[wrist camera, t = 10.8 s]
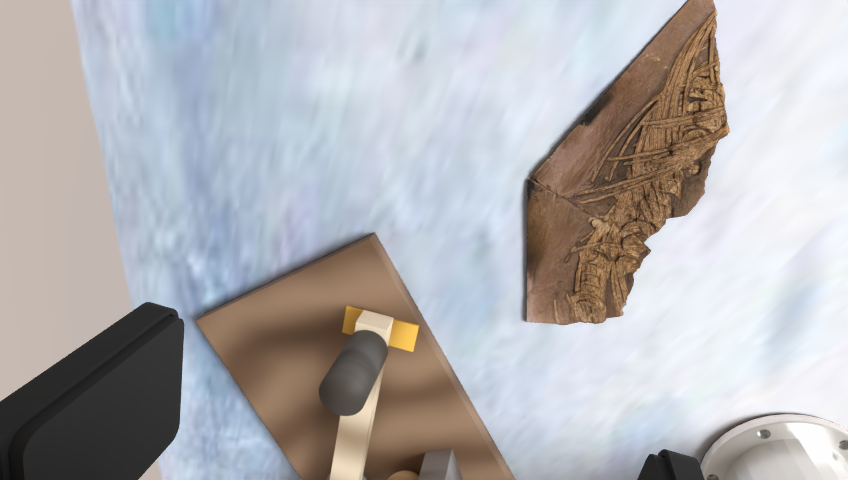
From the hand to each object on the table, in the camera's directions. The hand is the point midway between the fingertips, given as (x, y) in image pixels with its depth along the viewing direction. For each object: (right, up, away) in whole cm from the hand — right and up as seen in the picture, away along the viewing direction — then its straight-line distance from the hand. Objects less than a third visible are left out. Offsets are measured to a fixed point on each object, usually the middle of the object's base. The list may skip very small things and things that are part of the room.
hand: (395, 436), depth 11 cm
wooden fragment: (+14, +8, +30) cm, 34 cm away
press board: (-5, -10, +40) cm, 41 cm away
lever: (-5, -12, +38) cm, 40 cm away
